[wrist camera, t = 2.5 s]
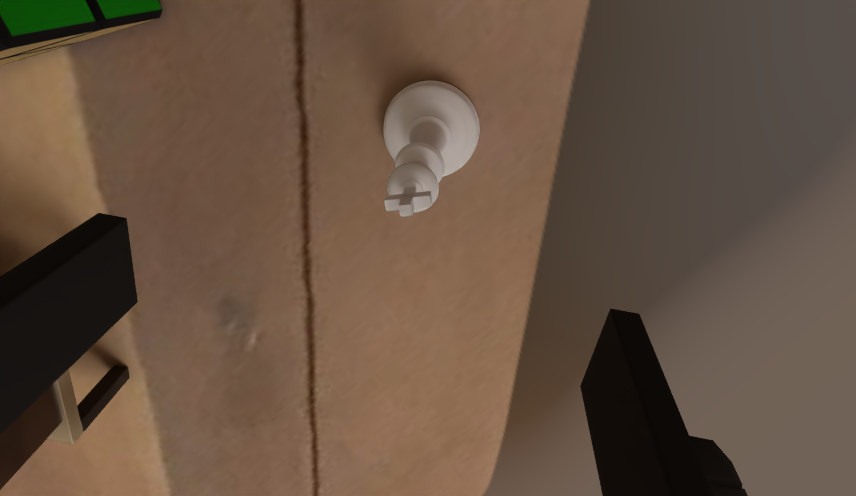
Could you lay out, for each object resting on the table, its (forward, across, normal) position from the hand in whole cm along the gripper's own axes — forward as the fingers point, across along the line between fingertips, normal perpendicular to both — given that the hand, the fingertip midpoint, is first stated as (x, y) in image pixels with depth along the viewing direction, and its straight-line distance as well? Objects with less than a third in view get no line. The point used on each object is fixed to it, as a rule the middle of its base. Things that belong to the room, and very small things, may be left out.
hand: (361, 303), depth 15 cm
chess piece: (+15, 0, +1) cm, 15 cm away
